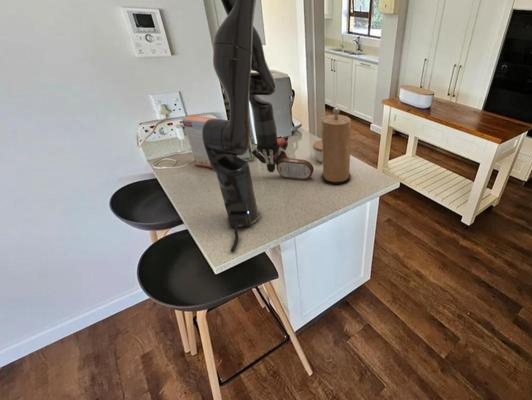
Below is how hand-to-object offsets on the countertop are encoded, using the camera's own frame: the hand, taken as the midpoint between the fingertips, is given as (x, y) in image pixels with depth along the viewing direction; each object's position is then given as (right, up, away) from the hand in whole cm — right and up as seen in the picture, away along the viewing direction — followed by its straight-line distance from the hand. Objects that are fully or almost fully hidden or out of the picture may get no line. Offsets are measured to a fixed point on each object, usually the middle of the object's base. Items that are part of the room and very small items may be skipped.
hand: (271, 171), depth 114 cm
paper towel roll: (+26, -2, +4) cm, 26 cm away
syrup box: (-16, +7, +15) cm, 23 cm away
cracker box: (-28, +3, +8) cm, 29 cm away
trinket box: (+20, +7, +18) cm, 27 cm away
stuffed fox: (0, +7, +16) cm, 17 cm away
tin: (+9, -3, +3) cm, 10 cm away
